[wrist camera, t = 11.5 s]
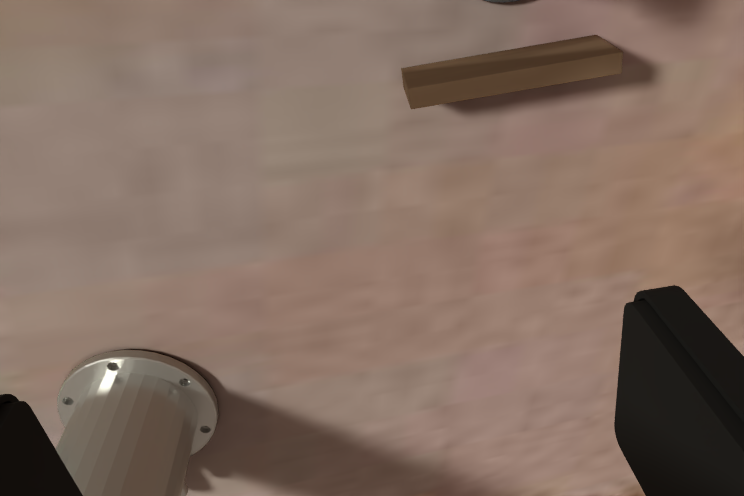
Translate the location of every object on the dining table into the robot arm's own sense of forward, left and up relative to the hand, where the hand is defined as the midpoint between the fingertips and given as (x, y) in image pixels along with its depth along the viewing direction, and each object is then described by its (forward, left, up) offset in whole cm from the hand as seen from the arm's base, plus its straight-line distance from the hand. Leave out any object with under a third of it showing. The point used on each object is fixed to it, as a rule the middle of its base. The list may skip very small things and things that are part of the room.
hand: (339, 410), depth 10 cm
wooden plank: (-5, -10, -31) cm, 33 cm away
